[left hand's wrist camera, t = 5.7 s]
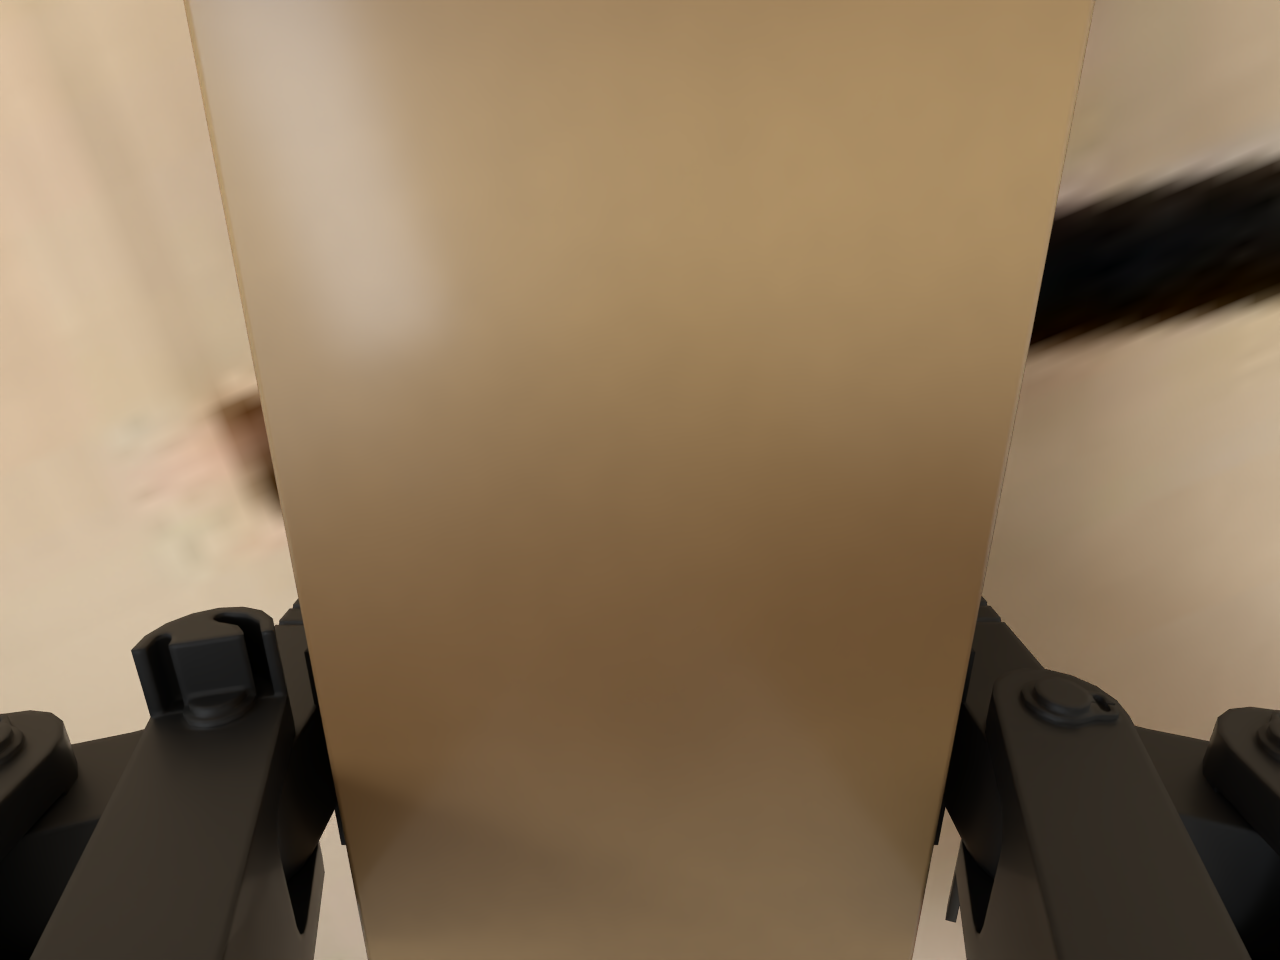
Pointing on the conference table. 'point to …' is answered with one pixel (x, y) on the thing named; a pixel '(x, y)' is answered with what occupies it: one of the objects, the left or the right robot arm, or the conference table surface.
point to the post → (639, 439)
